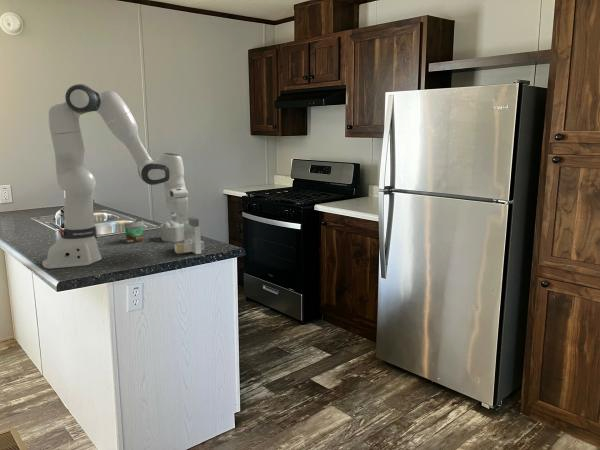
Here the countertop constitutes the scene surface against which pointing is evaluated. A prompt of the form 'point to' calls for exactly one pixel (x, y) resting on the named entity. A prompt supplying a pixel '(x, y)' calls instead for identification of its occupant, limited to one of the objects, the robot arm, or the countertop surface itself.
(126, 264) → the countertop surface
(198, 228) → the motor housing
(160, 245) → the countertop surface
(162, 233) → the lumpy-topped squat cylinder
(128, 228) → the food container
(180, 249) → the cream rectangular bar
